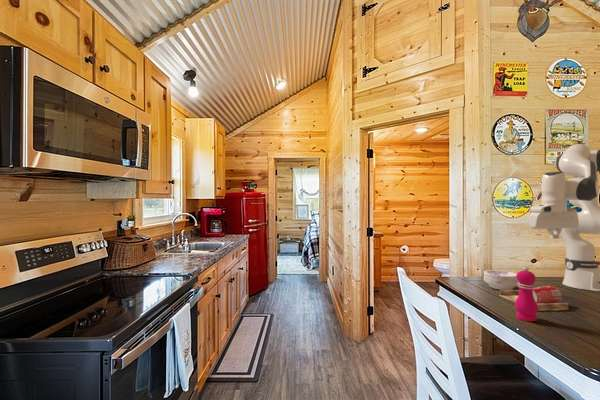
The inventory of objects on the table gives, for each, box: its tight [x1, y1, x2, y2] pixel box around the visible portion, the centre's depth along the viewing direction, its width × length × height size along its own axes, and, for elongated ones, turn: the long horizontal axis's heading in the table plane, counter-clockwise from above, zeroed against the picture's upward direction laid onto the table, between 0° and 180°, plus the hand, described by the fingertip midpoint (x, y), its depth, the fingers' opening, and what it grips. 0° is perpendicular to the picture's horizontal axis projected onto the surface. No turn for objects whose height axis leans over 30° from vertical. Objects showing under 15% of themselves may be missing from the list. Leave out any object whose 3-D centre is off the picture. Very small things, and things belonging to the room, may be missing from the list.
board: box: [498, 289, 569, 312], centre depth 135 cm, size 15×20×2 cm
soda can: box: [533, 285, 563, 304], centre depth 132 cm, size 7×7×13 cm
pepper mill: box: [514, 266, 539, 323], centre depth 116 cm, size 7×7×20 cm
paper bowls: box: [483, 269, 519, 291], centre depth 157 cm, size 15×15×8 cm
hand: (554, 238), depth 135 cm, fingers closed
